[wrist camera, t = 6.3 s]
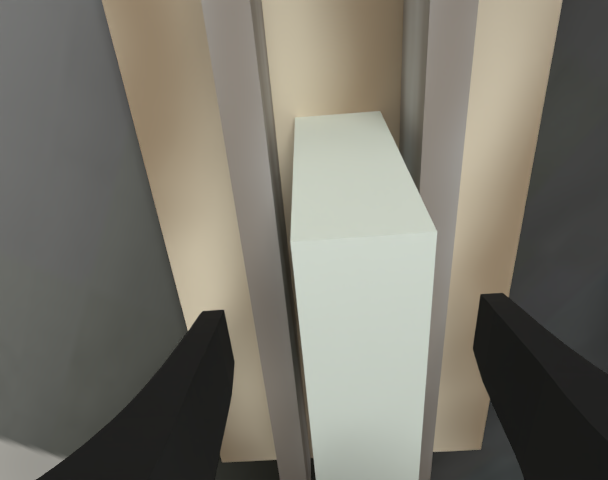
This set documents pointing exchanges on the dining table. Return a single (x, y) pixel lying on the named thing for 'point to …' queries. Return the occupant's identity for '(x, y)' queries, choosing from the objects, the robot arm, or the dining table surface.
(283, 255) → the door track base
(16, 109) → the dining table surface
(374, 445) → the door panel
